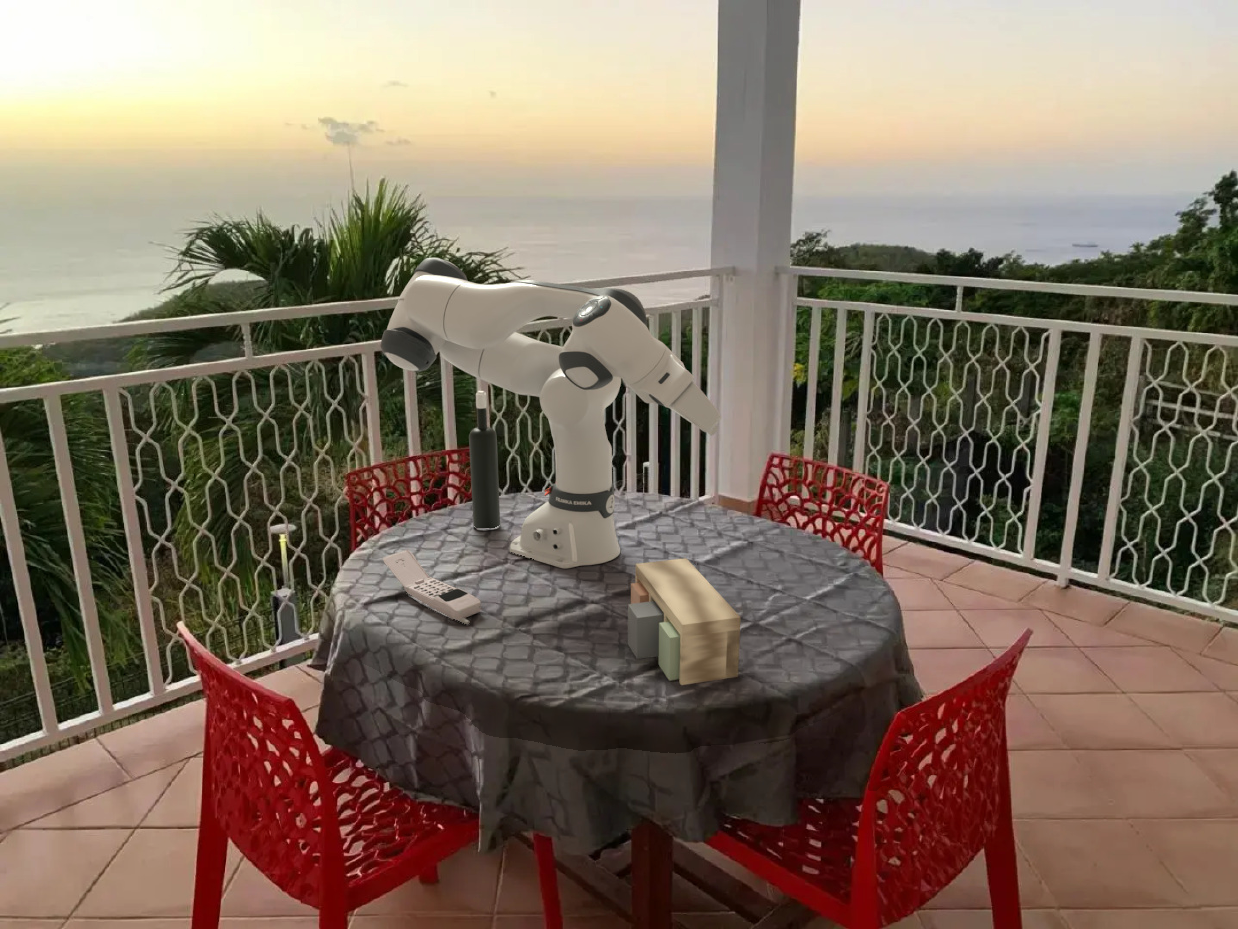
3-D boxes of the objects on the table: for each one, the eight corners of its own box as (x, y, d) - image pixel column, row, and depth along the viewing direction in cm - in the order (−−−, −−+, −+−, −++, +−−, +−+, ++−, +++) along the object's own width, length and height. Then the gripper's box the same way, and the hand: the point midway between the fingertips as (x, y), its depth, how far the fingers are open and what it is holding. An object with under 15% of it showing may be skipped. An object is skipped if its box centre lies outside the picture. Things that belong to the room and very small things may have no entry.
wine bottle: (505, 526, 197) (500, 391, 188) (485, 533, 193) (479, 395, 184) (488, 520, 201) (482, 387, 192) (468, 527, 197) (461, 391, 188)
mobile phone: (407, 548, 170) (489, 586, 153) (409, 577, 172) (491, 617, 155) (379, 557, 166) (460, 597, 149) (382, 587, 168) (463, 629, 151)
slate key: (637, 659, 140) (637, 618, 138) (627, 644, 145) (627, 604, 143) (679, 653, 142) (680, 612, 140) (669, 638, 147) (670, 599, 145)
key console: (681, 686, 133) (682, 624, 130) (635, 618, 154) (635, 563, 151) (738, 678, 135) (740, 617, 132) (685, 611, 157) (686, 558, 154)
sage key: (669, 680, 134) (669, 637, 132) (658, 664, 139) (659, 622, 137) (713, 674, 136) (714, 631, 134) (701, 658, 140) (702, 617, 138)
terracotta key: (639, 635, 148) (639, 595, 146) (630, 621, 152) (630, 583, 150) (680, 629, 150) (680, 590, 148) (670, 616, 154) (670, 578, 152)
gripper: (625, 378, 155) (678, 429, 161) (663, 403, 137) (722, 460, 142) (650, 351, 155) (702, 403, 161) (692, 372, 136) (749, 431, 142)
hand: (712, 430), depth 151 cm, fingers closed
